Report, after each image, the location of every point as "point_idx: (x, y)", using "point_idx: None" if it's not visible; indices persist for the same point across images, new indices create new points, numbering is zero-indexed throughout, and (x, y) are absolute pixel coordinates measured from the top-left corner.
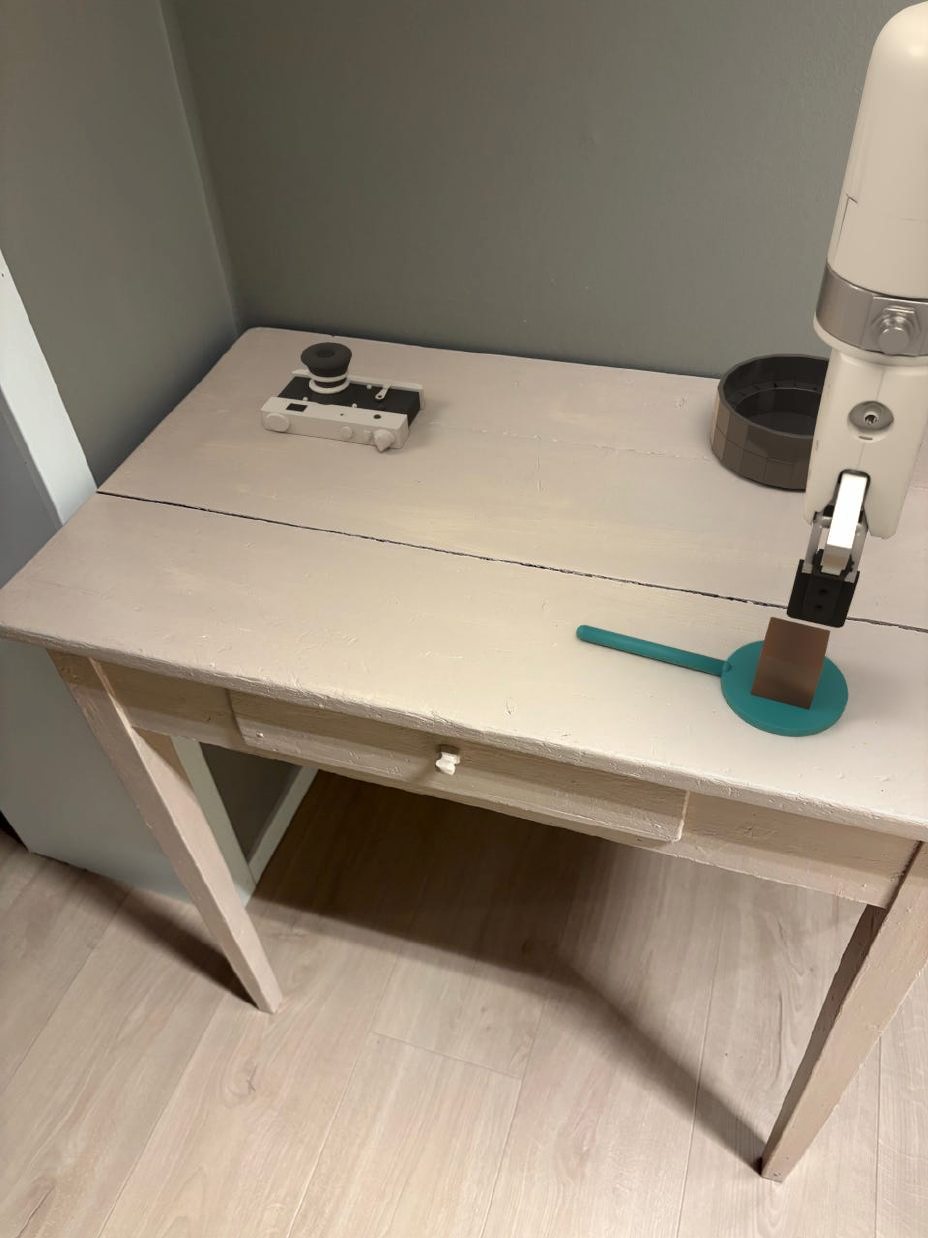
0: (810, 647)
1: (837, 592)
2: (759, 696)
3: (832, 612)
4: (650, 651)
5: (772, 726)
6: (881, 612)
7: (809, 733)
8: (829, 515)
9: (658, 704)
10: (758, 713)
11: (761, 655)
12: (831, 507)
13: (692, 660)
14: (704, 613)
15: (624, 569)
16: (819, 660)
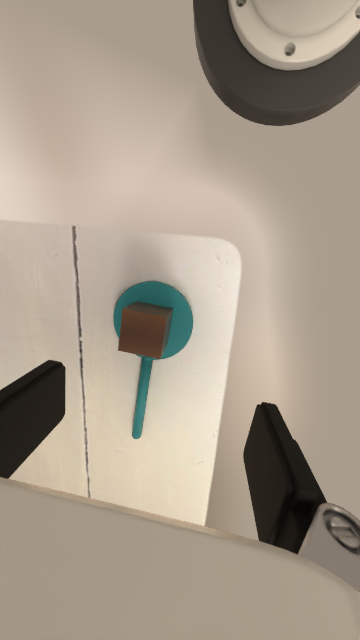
0: (144, 324)
1: (320, 492)
2: (168, 338)
3: (301, 451)
4: (144, 400)
5: (191, 330)
6: (64, 251)
7: (189, 306)
8: (58, 403)
9: (181, 390)
10: (183, 339)
11: (160, 358)
12: (49, 413)
13: (147, 378)
14: (98, 365)
15: (74, 411)
16: (156, 318)
